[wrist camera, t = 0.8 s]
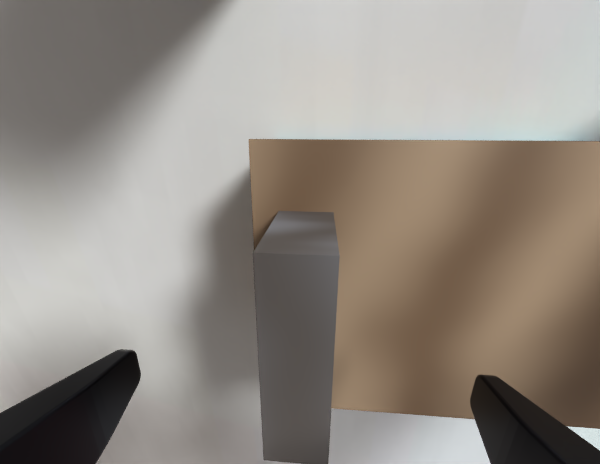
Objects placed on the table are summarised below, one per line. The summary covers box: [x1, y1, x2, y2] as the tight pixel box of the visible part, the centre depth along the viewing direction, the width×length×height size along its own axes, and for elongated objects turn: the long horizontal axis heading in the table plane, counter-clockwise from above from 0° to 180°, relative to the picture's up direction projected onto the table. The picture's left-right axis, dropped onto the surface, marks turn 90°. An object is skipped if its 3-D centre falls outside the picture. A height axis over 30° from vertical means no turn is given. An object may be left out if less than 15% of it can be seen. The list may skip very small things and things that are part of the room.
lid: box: [249, 139, 600, 464], centre depth 9 cm, size 16×12×5 cm
